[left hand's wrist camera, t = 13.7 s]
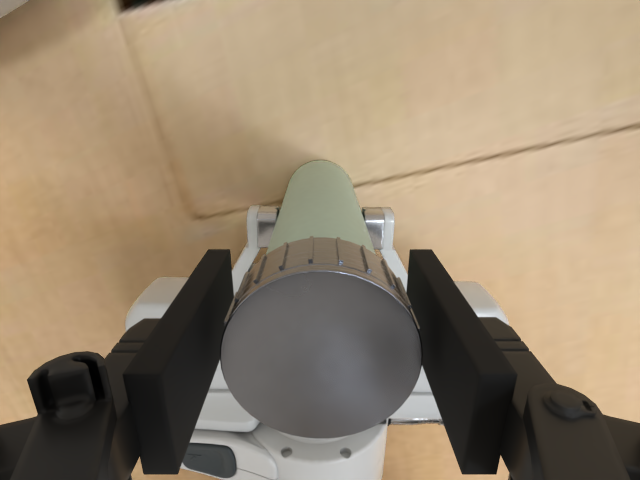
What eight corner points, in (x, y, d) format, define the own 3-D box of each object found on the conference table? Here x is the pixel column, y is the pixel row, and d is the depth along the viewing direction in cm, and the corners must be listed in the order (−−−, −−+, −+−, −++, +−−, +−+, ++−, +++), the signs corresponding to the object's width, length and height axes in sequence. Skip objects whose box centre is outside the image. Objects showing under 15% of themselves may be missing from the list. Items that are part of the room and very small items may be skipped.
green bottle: (283, 217, 28) (230, 403, 11) (293, 154, 26) (249, 264, 10) (345, 228, 28) (381, 425, 12) (359, 166, 26) (423, 293, 10)
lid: (225, 372, 13) (207, 426, 11) (245, 219, 11) (228, 249, 9) (383, 396, 14) (396, 453, 11) (428, 251, 12) (452, 287, 10)
